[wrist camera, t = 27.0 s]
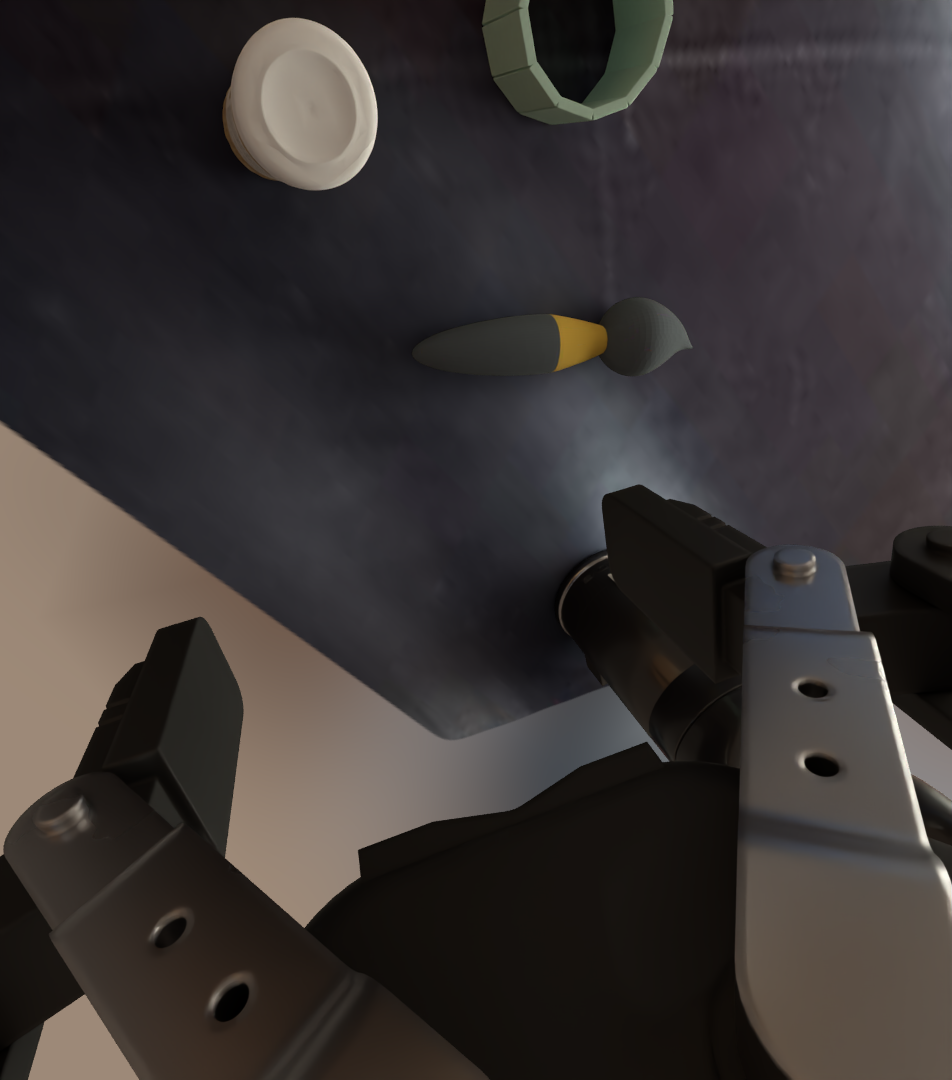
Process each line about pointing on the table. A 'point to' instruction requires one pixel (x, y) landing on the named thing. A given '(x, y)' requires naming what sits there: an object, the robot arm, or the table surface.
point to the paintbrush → (559, 342)
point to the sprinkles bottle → (300, 106)
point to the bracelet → (629, 68)
